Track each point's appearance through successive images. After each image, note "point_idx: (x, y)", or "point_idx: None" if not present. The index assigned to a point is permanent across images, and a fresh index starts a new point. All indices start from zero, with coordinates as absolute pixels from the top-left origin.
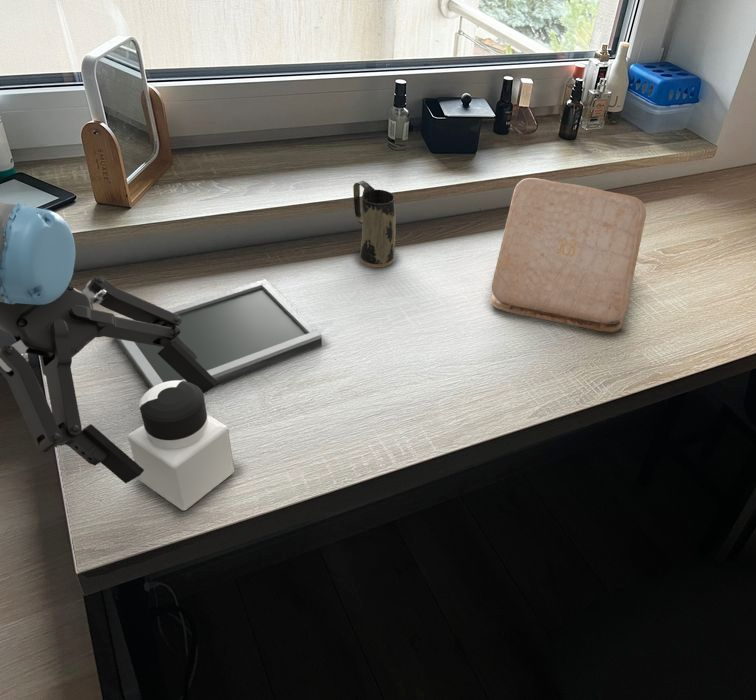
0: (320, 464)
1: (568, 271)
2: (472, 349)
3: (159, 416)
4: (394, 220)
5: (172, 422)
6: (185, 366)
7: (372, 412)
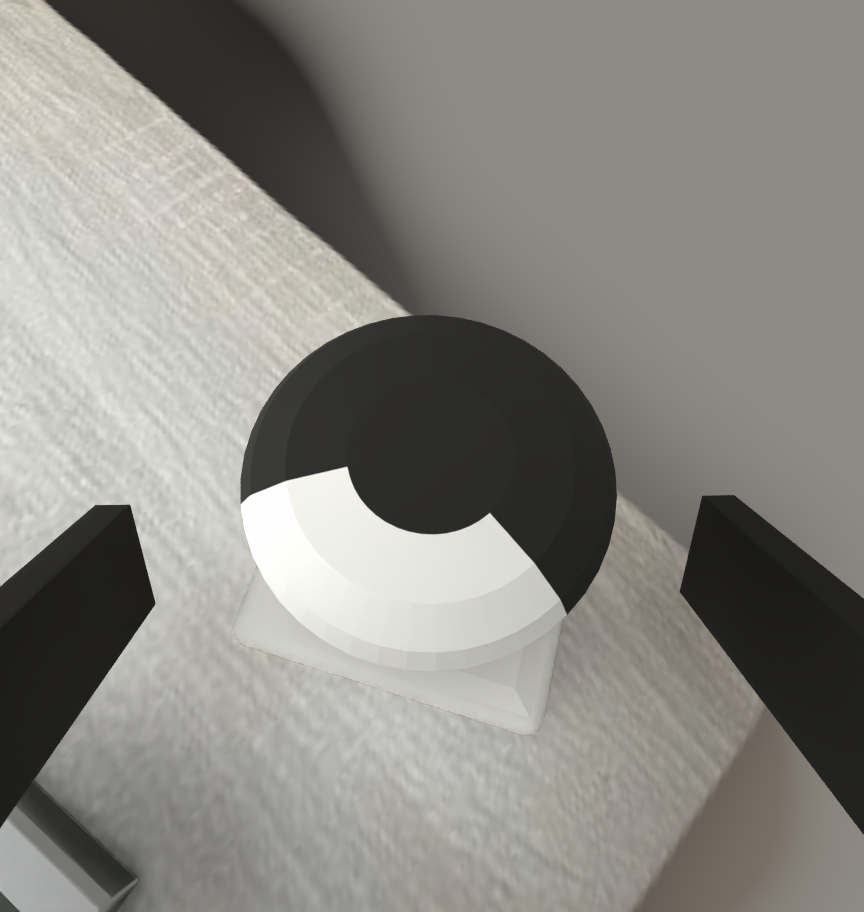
0: (272, 296)
1: None
2: None
3: (597, 433)
4: None
5: (572, 380)
6: (32, 665)
7: (56, 253)
